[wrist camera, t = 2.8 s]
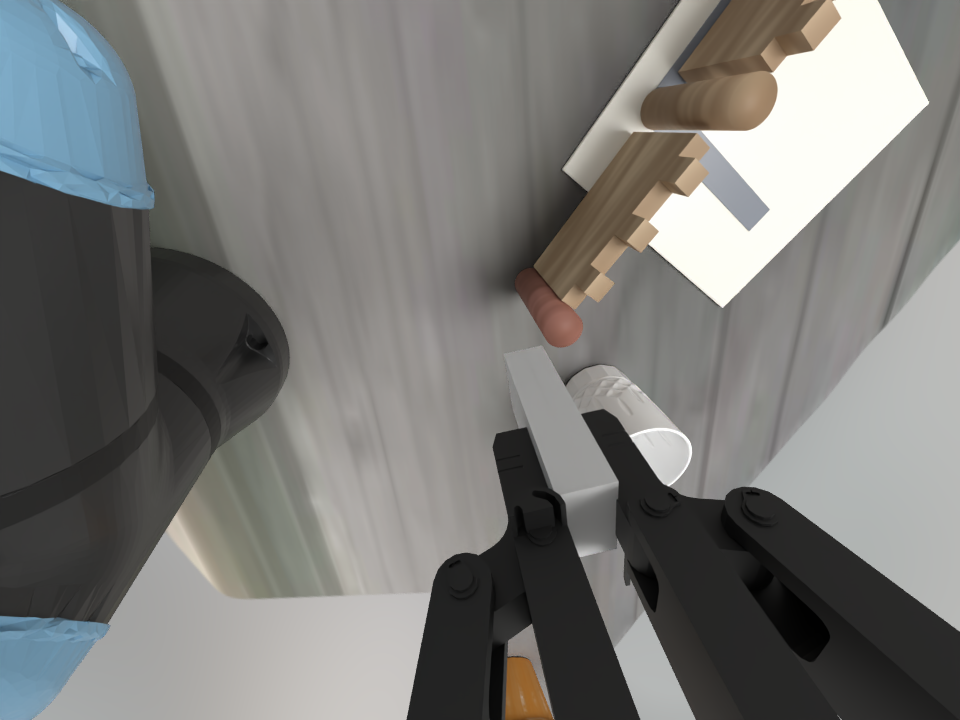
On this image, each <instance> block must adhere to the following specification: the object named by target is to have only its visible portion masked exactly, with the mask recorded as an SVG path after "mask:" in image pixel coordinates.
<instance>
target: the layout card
mask: <svg viewBox="0 0 960 720" xmlns="http://www.w3.org/2000/svg"><path fill="white" fill-rule="evenodd" d="M730 2H731V0H680V2H679V3H678V4H677V6H676V7H675V9H674V10H673V12H672V13H671V14H670V16H669V17H668V19H667V20H666V22H665V23H664V24H663V26H662V27H661V29H660V30H659V31H658V33H657V34H656V36H655V37H654V39H653V40H652V41H651V43H650V44H649V46H648V47H647V49H646V50H645V51H644V53H643V54H642V56H641V57H640V59H639V60H638V61H637V63H636V64H635V66H634V67H633V69H632V70H631V71H630V73H629V74H628V76H627V77H626V79H625V80H624V81H623V83H622V84H621V86H620V87H619V89H618V90H617V91H616V93H615V94H614V96H613V97H612V98H611V100H610V101H609V103H608V104H607V106H606V107H605V108H604V110H603V111H602V113H601V114H600V116H599V117H598V118H597V120H596V121H595V123H594V124H593V126H592V127H591V128H590V130H589V131H588V133H587V134H586V136H585V137H584V138H583V140H582V141H581V143H580V144H579V146H578V147H577V148H576V150H575V151H574V153H573V154H572V155H571V157H570V158H569V160H568V161H567V163H566V164H565V165H564V167H563V168H562V170H563V171H564V172H565V173H566V174H567V175H569V176H570V177H571V178H572V179H573V180H574V181H576V182H577V183H578V184H579V185H580V186H581V187H582V188H584V189H585V190H586V191H587V192H589V191H590V189H591V188H592V187H593V185H594V184H595V183H596V181H597V180H598V179H599V177H600V176H601V175H602V173H603V172H604V171H605V169H606V168H607V167H608V165H609V164H610V162H611V161H612V160H613V158H614V157H615V156H616V154H617V153H618V152H619V150H620V149H621V148H622V146H623V145H624V144H625V142H626V141H627V140H628V138H629V137H630V136H631V134H632V133H633V132H675V133H698V134H699V136H700V137H701V138H702V139H703V140H704V141H705V142H706V144H707V145H708V146H709V147H710V149H709V150H708V151H707V152H706V154H705V155H704V156H703V157H702V158H701V160H700V161H699V162H700V163H701V164H702V165H703V167H704V168H705V169H706V170H707V171H708V172H709V174H708V175H707V176H706V177H705V178H704V180H703V181H702V182H701V183H700V184H699V185H698V187H697V188H696V189H695V190H694V191H693V192H692V194H691V195H690V196H689V197H686V196H682V195H678V194H674V193H672V194H671V195H670V197H669V198H668V199H667V200H666V201H665V203H664V204H663V205H662V206H661V207H660V209H659V210H658V211H657V212H656V213H655V215H654V216H653V217H652V218H651V219H650V221H649V223H650V224H652V225H653V226H654V227H655V228H656V229H657V230H658V231H659V232H658V233H657V235H656V236H655V237H654V238H653V239H652V240H651V242H650V243H649V244H648V245H650V246H651V247H652V248H653V249H654V250H655V251H657V252H658V253H659V254H660V255H661V256H662V257H663V258H665V259H666V260H667V261H668V262H669V263H670V264H672V265H673V266H674V267H675V268H676V269H677V270H679V271H680V272H681V273H682V274H683V275H684V276H685V277H687V278H688V279H689V280H690V281H691V282H692V283H694V284H695V285H696V286H697V287H698V288H699V289H701V290H702V291H703V292H704V293H705V294H706V295H707V296H709V297H710V298H711V299H712V300H713V301H714V302H716V303H717V304H718V305H719V306H720V307H722V308H723V307H724V306H725V305H726V304H727V303H728V302H729V301H730V300H731V299H732V298H733V297H734V296H735V295H736V294H737V293H738V292H739V291H740V290H741V289H742V288H743V287H744V286H745V285H746V284H747V283H748V282H749V281H750V280H751V279H752V278H753V277H754V276H755V275H756V274H757V273H758V272H759V271H760V270H761V269H762V268H763V267H764V266H765V265H766V264H767V263H768V262H769V261H770V260H771V259H772V258H773V257H774V256H775V255H776V254H777V253H778V252H779V251H780V250H781V249H782V248H783V247H784V246H785V245H786V244H787V243H788V242H789V241H790V240H791V239H792V238H793V237H794V236H795V235H796V234H797V233H799V232H800V231H801V230H802V229H803V228H804V227H805V226H806V225H807V224H808V223H809V222H810V221H811V220H812V219H813V218H814V217H815V216H816V215H817V214H818V213H819V212H820V211H821V210H822V209H823V208H824V207H825V206H826V205H827V204H828V203H829V202H830V201H831V200H832V199H833V198H834V197H835V196H836V195H837V194H838V193H839V192H840V191H841V190H842V189H843V188H844V187H845V186H846V185H847V184H848V183H849V182H850V181H851V180H852V179H853V178H854V177H855V176H856V175H857V174H858V173H859V172H860V171H861V170H862V169H863V168H864V167H865V166H866V165H867V164H868V163H869V162H870V161H871V160H872V159H873V158H874V157H875V156H876V155H877V154H878V153H879V152H880V151H881V150H882V149H883V148H884V147H885V146H886V145H887V144H888V143H889V142H890V141H891V140H892V139H893V138H894V137H895V136H896V135H897V134H898V133H899V132H900V131H901V130H902V129H903V128H904V127H905V126H906V125H907V124H908V123H909V122H910V121H911V120H912V119H913V118H914V117H915V116H916V115H917V114H918V113H919V112H920V111H921V110H922V109H923V108H925V107H926V106H927V105H928V104H929V102H928V100H927V98H926V96H925V94H924V92H923V90H922V88H921V86H920V84H919V82H918V80H917V78H916V76H915V74H914V72H913V70H912V68H911V66H910V64H909V62H908V60H907V58H906V56H905V54H904V52H903V50H902V48H901V46H900V44H899V42H898V40H897V38H896V36H895V34H894V32H893V30H892V28H891V26H890V24H889V22H888V20H887V18H886V16H885V14H884V12H883V10H882V8H881V6H880V4H879V2H878V0H835V1H832V2H833V4H834V6H835V7H836V9H837V11H838V13H839V15H840V16H841V19H840V21H839V22H838V23H837V24H836V25H835V26H834V28H833V29H832V30H831V31H830V32H829V33H828V35H827V36H826V37H825V38H824V39H823V40H822V42H821V43H820V44H819V45H818V46H817V48H816V49H815V50H814V51H810V52H804V53H799V54H794V55H789V56H787V57H786V58H785V59H784V60H783V61H782V63H781V64H780V65H779V66H778V67H777V69H776V70H775V71H774V72H772V73H771V74H772V75H773V76H774V78H775V79H776V82H777V87H778V93H777V99H776V102H775V105H774V107H773V109H772V111H771V113H770V114H769V116H768V117H767V118H766V119H765V120H764V122H762V123H761V124H760V125H759V126H757V127H756V128H754V129H752V130H748V131H700V130H650V129H647V128H646V127H645V126H644V125H643V123H642V121H641V116H640V112H641V106H642V103H643V101H644V99H645V98H646V96H647V95H648V94H649V93H650V92H651V91H653V90H654V89H657V88H661V87H667V86H673V85H679V84H685V83H687V82H686V81H685V80H684V79H683V78H682V76H681V75H680V74H679V73H678V71H679V70H680V69H681V67H682V66H683V65H684V63H685V62H686V61H687V59H688V58H689V57H690V55H691V54H692V53H693V51H694V50H695V49H696V47H697V46H698V45H699V43H700V42H701V41H702V39H703V38H704V37H705V35H706V34H707V32H708V31H709V30H710V28H711V27H712V26H713V24H714V23H715V22H716V20H717V19H718V18H719V16H720V15H721V14H722V12H723V11H724V10H725V8H726V7H727V6H728V4H729V3H730Z"/></svg>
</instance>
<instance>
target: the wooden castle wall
mask: <svg viewBox="0 0 960 720" xmlns="http://www.w3.org/2000/svg"><path fill="white" fill-rule="evenodd" d="M832 1H835V0H731V2H730V3H729V4H728V6H727V7H726V8H725V10H724V11H723V12H722V14H721V15H720V16H719V18H718V19H717V20H716V22H715V23H714V24H713V26H712V27H711V28H710V30H709V31H708V32H707V34H706V35H705V37H704V38H703V39H702V41H701V42H700V43H699V45H698V46H697V47H696V49H695V50H694V51H693V53H692V54H691V55H690V57H689V58H688V59H687V61H686V62H685V63H684V65H683V66H682V67H681V69H680V70H679V71H678V73H679V74H680V75H681V76H682V78H683V79H684V80H685V81H686V82H687V83H685V84H679V85H673V86H667V87H661V88H657V89H654V90H653V91H651V92H650V93H649V94H648V95H647V96H646V98H645V99H644V101H643V103H642V106H641V112H640V116H641V121H642V123H643V125H644V126H645V127H646V128H647V129H650V130H700V131H748V130H752V129H754V128H756V127H757V126H759V125H760V124H761V123H762V122H764V120H765V119H766V118H767V117H768V116H769V114H770V113H771V111H772V109H773V107H774V105H775V102H776V99H777V93H778V87H777V82H776V79H775V78H774V76H773V75H772V74H771V73H772V72H774V71H775V70H776V69H777V67H778V66H779V65H780V64H781V63H782V61H783V60H784V59H785V58H786V57H787V56H789V55H794V54H799V53H804V52H810V51H814V50H815V49H816V48H817V46H818V45H819V44H820V43H821V42H822V40H823V39H824V38H825V37H826V36H827V35H828V33H829V32H830V31H831V30H832V29H833V28H834V26H835V25H836V24H837V23H838V22H839V21H840V19H841V16H840V15H839V13H838V11H837V9H836V7H835V6H834V4H833V2H832Z"/></svg>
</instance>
